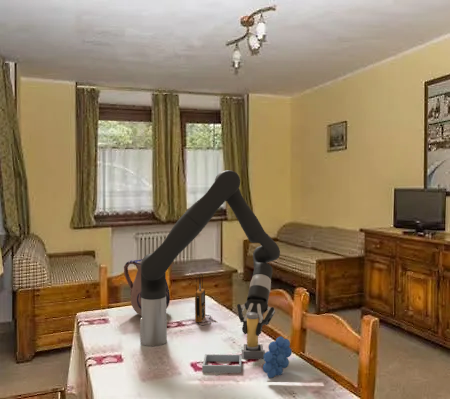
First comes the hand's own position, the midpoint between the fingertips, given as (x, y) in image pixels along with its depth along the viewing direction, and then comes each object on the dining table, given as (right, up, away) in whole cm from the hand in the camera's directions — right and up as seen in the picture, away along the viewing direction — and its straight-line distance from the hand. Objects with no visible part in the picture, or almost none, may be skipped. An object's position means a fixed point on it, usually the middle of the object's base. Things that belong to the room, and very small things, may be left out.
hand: (251, 333), depth 143 cm
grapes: (+7, -9, -12) cm, 17 cm away
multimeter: (-16, -8, +42) cm, 45 cm away
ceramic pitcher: (-45, -8, +51) cm, 68 cm away
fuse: (+1, -6, +2) cm, 6 cm away
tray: (-10, -9, -7) cm, 15 cm away
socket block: (+1, -8, +2) cm, 9 cm away
